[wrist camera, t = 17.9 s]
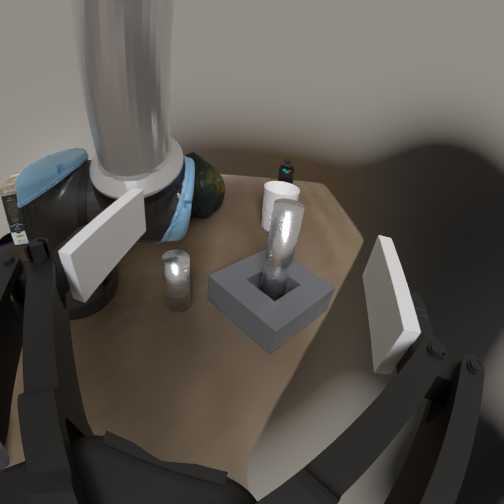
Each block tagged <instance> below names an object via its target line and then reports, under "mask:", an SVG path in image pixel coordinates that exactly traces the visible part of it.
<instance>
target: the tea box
mask: <svg viewBox="0 0 504 504" xmlns="http://www.w3.org/2000/svg"><path fill="white" fill-rule="evenodd" d="M20 173H21V172H17V173H14V174H13V175H12V176H11V177H10V178H9V179H8V180H7V181H6V182H5V183H4V184H3V185H2V186H1V187H0V193H1V198H2V202H3V206H4V210H5V214H6V217H7V221H8V224H9V228H10V231H11V234H12V237H13V240H14V243H15V245H19V244H26V243H28V239H27V236H26V233H25V229H24V226H23V222H22V218H21V215H20V211H19V208H18V206H17V203H18V201H17V194H16V187H15V183H16V179H17V177H18V175H19V174H20Z"/></svg>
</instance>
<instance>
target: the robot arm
mask: <svg viewBox="0 0 504 504" xmlns="http://www.w3.org/2000/svg"><path fill="white" fill-rule="evenodd" d="M173 6H174V0H71V11H72V22H73V33H74V41H75V48H76V56H77V63H78V69H79V75H80V81H81V86H82V92H83V97H84V102H85V107H86V112H87V116H88V121H89V124H90V129H91V133H92V137H93V141H94V145H95V149H96V154H95V155H94V157H93V159H92V160H88V154H87V152H86V150H85V149H79V148H74V149H68V150H64V151H61V152H58V153H55V154H52V155H49V156H47V157H44V158H42V159H40V160H38V161H36V162H34V163H33V164H31V165H29V166H28V167H27V168H25V169H24V170H23V171H22V172H21V173H20V174H19V175H18V177H17V179H16V183H15V187H16V194H17V201H18V203H17V206H18V208H19V211H20V215H21V218H22V222H23V226H24V229H25V233H26V236H27V239H28V243H27V244H26V245H25V248H24V250H25V253H26V256H27V259H28V261H21V259H20V256H19V254H18V253H15V252H13V253H8V254H6V255H5V256H4V257H2V258H1V259H0V504H337V503H338V502H339V500H340V497H341V496H342V494H344V492H346V491H347V490H348V489H349V488H350V487H351V486H352V485H353V484H354V483H355V482H356V481H357V480H358V478H359V477H360V476H361V475H362V474H363V473H364V472H365V471H366V470H367V469H368V468H369V467H370V466H371V465H372V463H373V462H374V461H375V460H376V459H377V458H378V457H379V455H380V454H381V453H382V452H383V450H385V448H386V447H387V446H388V445H389V444H390V442H391V441H392V440H393V439H394V437H395V436H396V434H398V432H399V431H400V430H401V428H402V427H403V426H404V424H405V423H406V422H407V420H408V419H409V418H410V416H411V415H412V413H413V412H414V411H415V409H416V408H417V406H418V405H419V403H420V402H421V400H422V399H423V397H424V398H426V399H428V402H427V405H426V408H425V411H424V414H423V417H422V420H421V423H420V425H419V428H418V431H417V434H416V436H415V439H414V441H413V444H412V446H411V449H410V451H409V453H408V456H407V458H406V460H405V463H404V465H403V467H402V469H401V471H400V473H399V476H398V478H397V480H396V482H395V484H394V486H393V488H392V490H391V492H390V494H389V496H388V497H387V499H386V501H385V503H384V504H455V501H456V498H457V496H458V493H459V490H460V487H461V484H462V481H463V478H464V475H465V472H466V468H467V465H468V461H469V457H470V454H471V450H472V445H473V441H474V436H475V432H476V427H477V422H478V416H479V411H480V405H481V398H482V390H483V382H484V367H483V365H482V363H481V362H480V360H479V359H478V358H476V357H475V356H473V355H466V356H465V357H463V358H462V360H461V361H459V360H457V359H455V358H452V357H450V356H448V355H447V350H446V349H445V347H444V345H443V344H442V343H441V342H439V341H438V340H436V339H435V338H434V334H433V331H432V327H431V324H430V320H429V317H428V314H427V311H426V308H425V304H424V301H423V300H422V299H421V297H420V296H419V295H418V293H416V292H411V291H409V288H408V285H407V283H406V279H405V276H404V273H403V270H402V267H401V264H400V261H399V258H398V256H397V253H396V250H395V247H394V244H393V242H392V239H391V238H388V237H384V236H380V235H379V236H378V238H377V240H376V243H375V245H374V248H373V251H372V253H371V256H370V258H369V261H368V263H367V266H366V268H365V271H364V273H363V282H364V288H365V295H366V302H367V308H368V317H369V325H370V333H371V343H372V353H373V364H374V372H376V373H385V374H390V373H391V372H392V370H393V369H394V368H395V367H396V368H397V375H396V376H395V377H394V378H393V380H392V381H391V382H390V383H389V384H388V385H387V387H386V388H385V389H384V390H383V391H382V393H381V394H380V395H379V396H378V397H377V398H376V399H375V400H374V401H373V403H372V404H371V405H370V406H369V407H368V408H367V409H366V410H365V411H364V412H363V413H362V414H361V415H360V416H359V418H357V419H356V420H355V421H354V423H352V424H351V425H350V426H349V427H348V428H347V429H346V430H345V431H344V432H343V433H342V434H341V435H340V436H339V437H338V438H337V439H336V440H335V441H334V442H333V443H332V444H330V445H329V446H328V447H327V448H326V449H325V450H324V451H323V452H322V453H320V454H319V455H318V456H317V457H316V458H315V459H313V460H312V461H311V462H310V463H309V464H307V465H306V466H305V467H304V468H303V469H301V470H300V471H299V472H298V473H296V474H295V475H294V476H293V477H291V478H290V479H289V480H287V481H286V482H285V483H283V484H282V485H281V486H279V487H278V488H277V489H275V490H274V491H272V492H271V493H270V494H268V495H267V496H265V497H264V498H262V499H261V500H260V501H258V502H257V501H256V499H255V498H254V497H253V495H252V494H251V493H250V492H249V491H248V490H247V489H246V488H244V487H243V486H242V485H241V484H239V483H237V482H236V481H234V480H232V479H230V478H228V477H227V473H228V472H225V471H221V470H216V469H212V468H209V467H205V466H201V465H197V464H187V463H175V462H164V461H160V460H158V459H157V458H155V457H154V456H152V455H151V454H149V453H148V452H146V451H145V450H143V449H142V448H140V447H139V446H138V445H136V444H135V443H133V442H131V441H128V440H126V439H124V438H121V437H119V436H117V435H115V434H112V433H110V432H108V431H106V433H105V436H97V435H95V436H94V435H93V432H92V430H91V428H90V426H89V424H88V422H87V419H86V416H85V412H84V408H83V403H82V399H81V394H80V389H79V384H78V379H77V373H76V367H75V361H74V354H73V347H72V339H71V331H70V321H69V320H70V319H78V318H83V317H86V316H88V315H91V314H93V313H95V312H97V311H98V310H100V309H101V308H102V307H104V306H105V305H106V304H107V303H108V302H109V301H110V299H111V298H112V297H113V295H114V293H115V290H116V286H117V280H116V275H115V271H114V267H115V266H116V264H117V263H118V262H119V261H120V260H121V259H122V257H123V256H124V255H125V254H126V253H127V252H128V251H129V249H130V248H131V247H132V246H133V245H134V244H135V243H136V242H155V243H158V244H159V243H162V242H171V241H179V240H181V239H182V238H183V237H184V236H185V235H186V233H187V230H188V226H189V221H190V216H191V203H192V198H193V192H194V179H195V163H194V161H193V159H191V158H188V157H186V156H183V152H182V149H181V147H180V145H179V144H178V143H177V141H176V140H174V139H173V138H172V137H170V59H171V36H172V19H173ZM11 296H12V298H11ZM22 345H23V382H24V393H23V394H19V396H18V401H17V404H18V415H19V424H20V431H21V438H22V444H23V450H24V456H25V461H24V462H21V463H19V464H16V465H14V466H11V467H8V468H6V469H5V467H7V466H8V465H9V463H10V458H9V456H8V455H7V454H6V453H5V449H4V446H5V442H6V437H7V433H8V426H9V418H10V410H11V402H12V395H13V389H14V383H15V378H16V372H17V367H18V363H19V358H20V354H21V349H22ZM226 477H227V478H226Z"/></svg>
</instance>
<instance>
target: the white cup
mask: <svg viewBox="0 0 504 504" xmlns="http://www.w3.org/2000/svg"><path fill="white" fill-rule="evenodd" d="M299 193H300V189H299V188H298V187H297V186H295V185H293V184H290V183H287V182H282V181H270V182H267V183H265V185H264V195H263V206H262V224H261V226H262V227H263V229H265V230H266V231H268V232H269V230H270V224H271V218H272V212H273V206H274V201H275V200H277V199H282V198H286V199H292V200H296V201H298V197H299Z"/></svg>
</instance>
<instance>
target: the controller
mask: <svg viewBox="0 0 504 504" xmlns="http://www.w3.org/2000/svg"><path fill="white" fill-rule="evenodd" d="M285 162H286V163H285V164H284V165H281V166H280V168H279V177H278V181H282V182H287V183H290V184H293V173H294V167H292V166H291V165H290V163H292V161H291V160H285Z"/></svg>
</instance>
